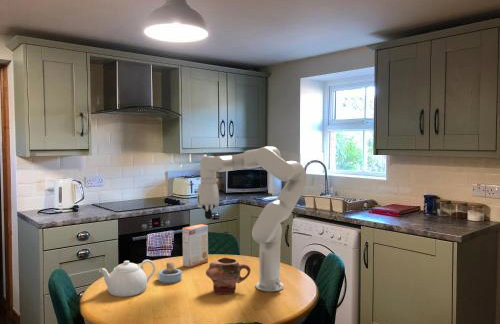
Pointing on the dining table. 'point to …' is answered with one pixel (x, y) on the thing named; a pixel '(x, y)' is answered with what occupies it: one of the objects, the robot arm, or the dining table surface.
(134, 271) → the teapot
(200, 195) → the robot arm
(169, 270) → the lid
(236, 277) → the sculpted mug
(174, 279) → the blue faceted bowl
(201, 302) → the dining table surface
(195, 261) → the cracker box
